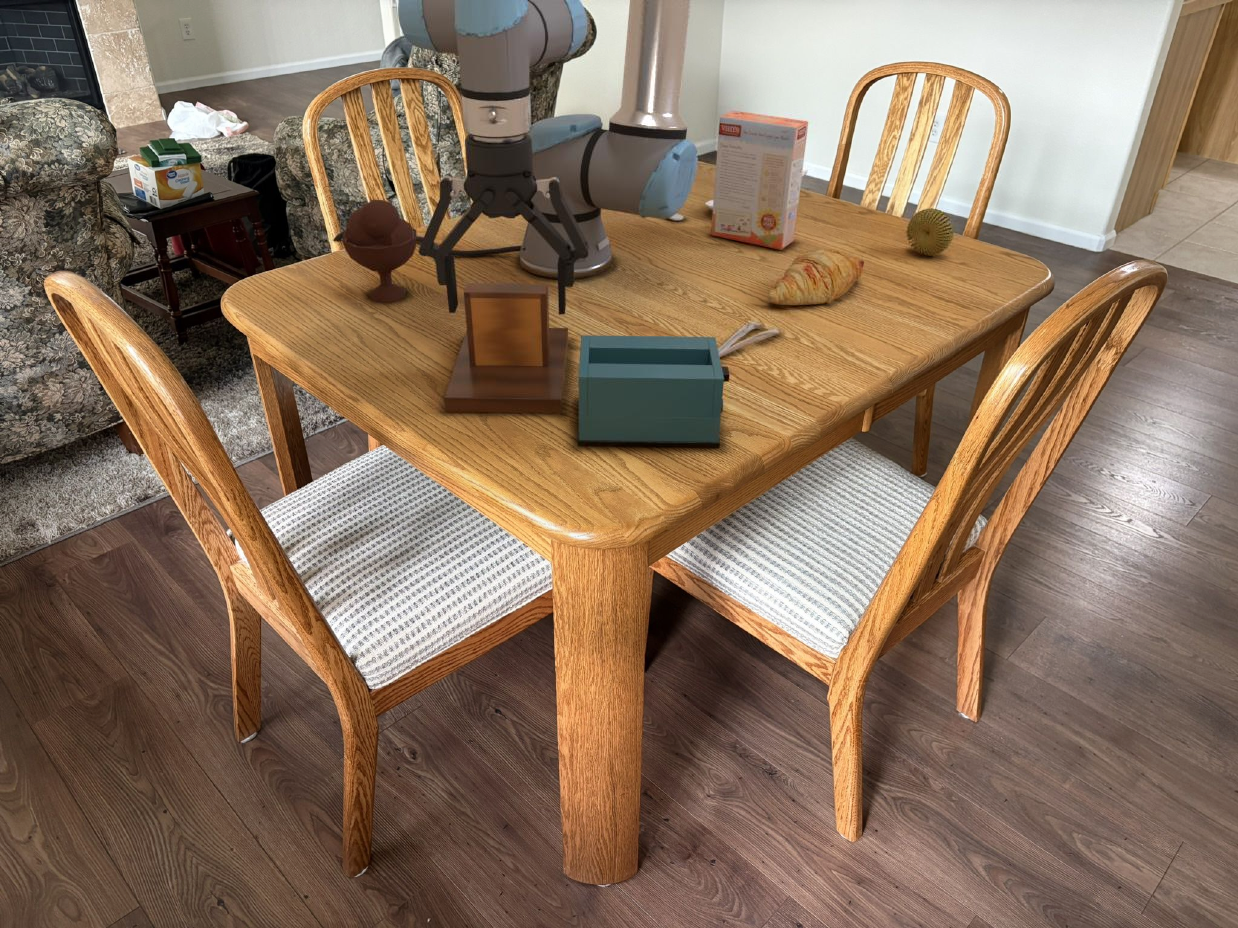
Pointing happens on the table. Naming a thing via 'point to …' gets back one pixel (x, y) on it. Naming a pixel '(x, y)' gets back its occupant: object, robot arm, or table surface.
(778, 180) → the cracker box
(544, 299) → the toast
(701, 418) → the toaster
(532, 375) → the bread board
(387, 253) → the ice cream bowl
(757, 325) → the tweezers
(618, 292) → the table surface
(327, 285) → the table surface
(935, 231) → the sea urchin shell
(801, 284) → the croissant
